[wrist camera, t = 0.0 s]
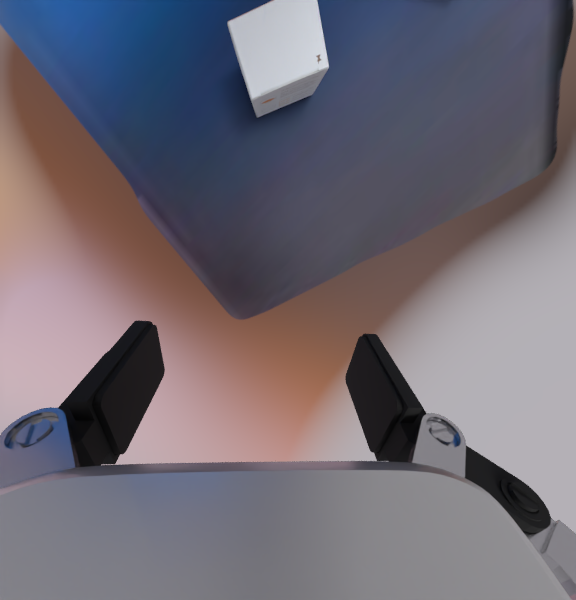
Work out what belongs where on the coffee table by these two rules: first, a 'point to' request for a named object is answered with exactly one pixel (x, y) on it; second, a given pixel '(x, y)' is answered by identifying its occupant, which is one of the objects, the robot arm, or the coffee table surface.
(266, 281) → the coffee table surface
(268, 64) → the small box
